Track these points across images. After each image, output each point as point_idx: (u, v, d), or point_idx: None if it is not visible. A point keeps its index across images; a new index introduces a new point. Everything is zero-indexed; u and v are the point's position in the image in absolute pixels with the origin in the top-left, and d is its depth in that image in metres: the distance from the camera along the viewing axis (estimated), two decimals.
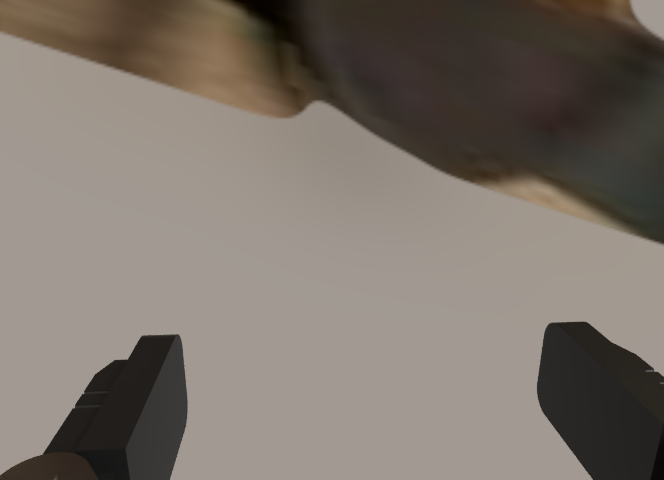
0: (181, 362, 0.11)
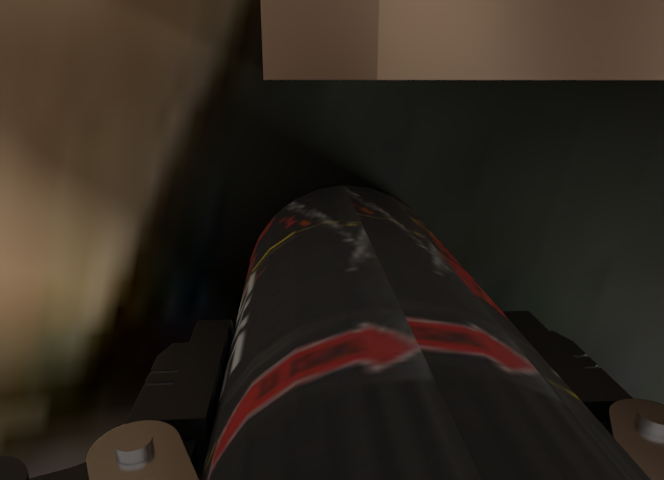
0: None
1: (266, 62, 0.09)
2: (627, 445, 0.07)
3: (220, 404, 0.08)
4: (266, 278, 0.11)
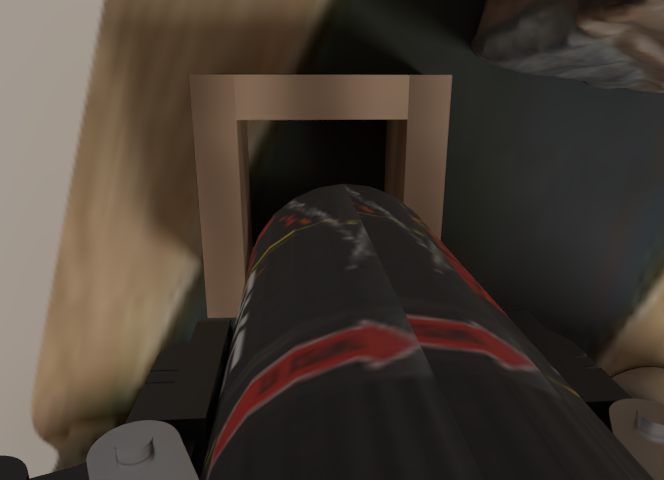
0: None
1: (208, 313, 0.27)
2: (627, 445, 0.07)
3: (220, 402, 0.08)
4: (266, 276, 0.11)
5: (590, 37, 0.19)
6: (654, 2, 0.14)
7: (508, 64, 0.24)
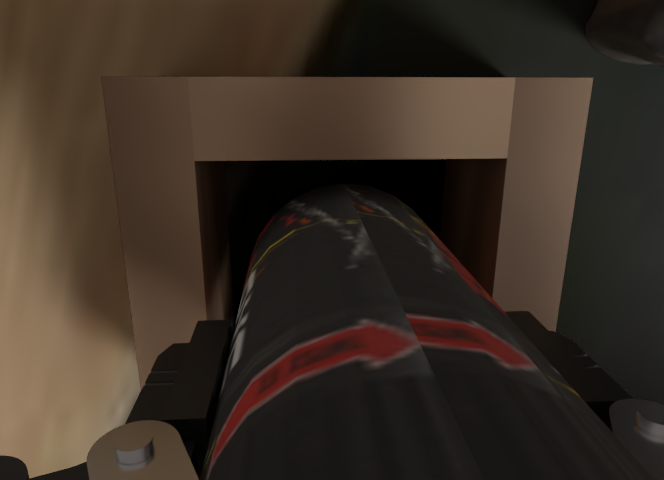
0: None
1: None
2: (627, 445, 0.07)
3: (220, 401, 0.08)
4: (266, 276, 0.11)
5: None
6: None
7: None
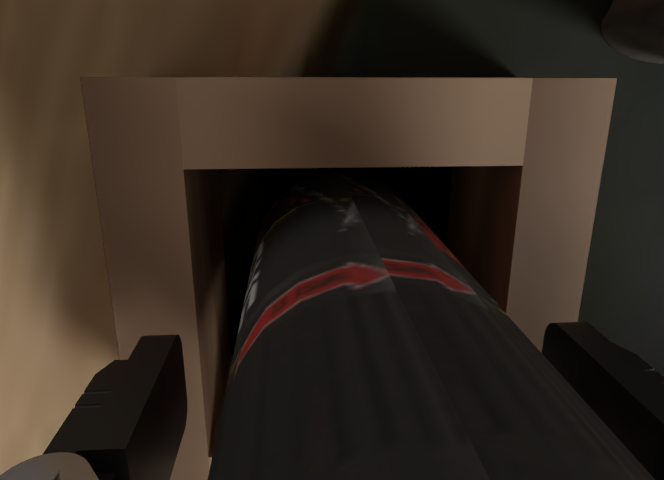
0: (181, 362, 0.11)
1: None
2: None
3: (240, 333, 0.11)
4: (273, 242, 0.13)
5: None
6: None
7: None
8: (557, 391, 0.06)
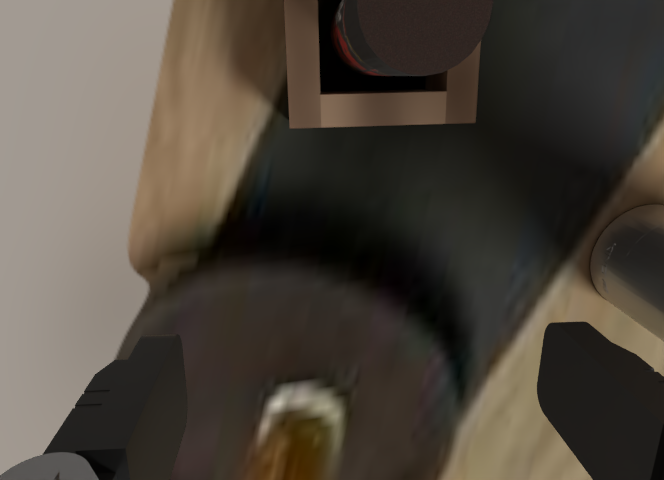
0: (181, 362, 0.11)
1: (290, 123, 0.32)
2: None
3: (344, 1, 0.28)
4: None
5: None
6: None
7: None
8: None
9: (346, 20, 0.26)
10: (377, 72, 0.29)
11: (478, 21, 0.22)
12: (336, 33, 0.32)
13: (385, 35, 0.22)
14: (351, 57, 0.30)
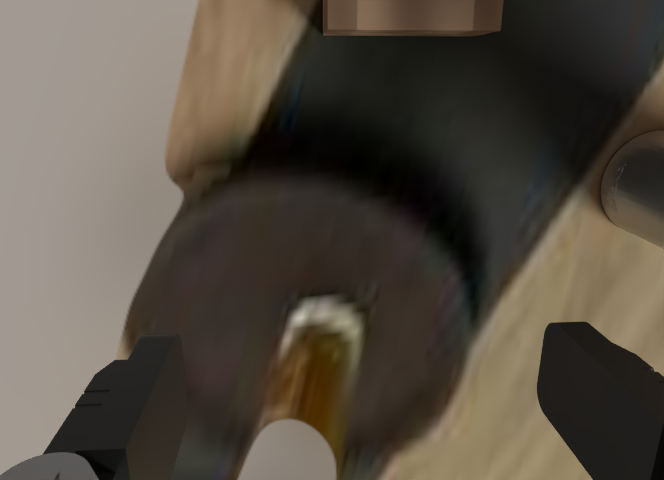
0: (181, 362, 0.11)
1: (328, 24, 0.35)
2: None
3: None
4: None
5: None
6: None
7: None
8: None
9: None
10: None
11: None
12: None
13: None
14: None
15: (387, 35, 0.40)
